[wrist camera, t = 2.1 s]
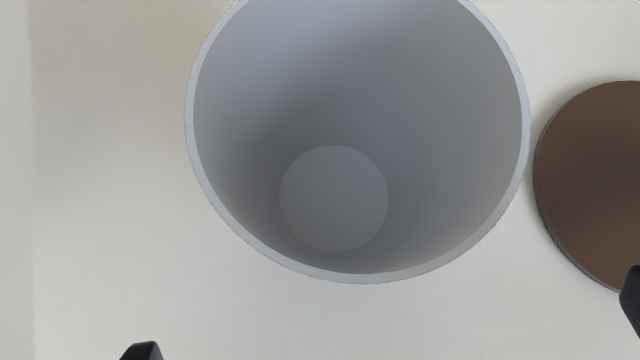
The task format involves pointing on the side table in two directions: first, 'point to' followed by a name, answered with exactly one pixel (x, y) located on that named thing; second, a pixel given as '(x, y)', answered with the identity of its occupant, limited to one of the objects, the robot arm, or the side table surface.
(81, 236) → the side table surface
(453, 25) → the cup
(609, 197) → the coaster
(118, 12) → the side table surface
